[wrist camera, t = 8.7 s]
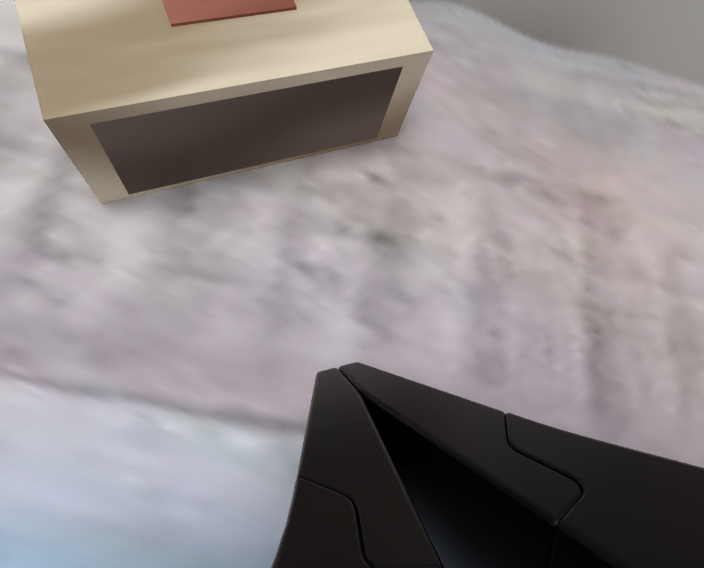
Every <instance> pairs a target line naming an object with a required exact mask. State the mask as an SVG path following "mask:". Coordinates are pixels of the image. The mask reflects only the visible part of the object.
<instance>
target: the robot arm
mask: <svg viewBox="0 0 704 568" xmlns="http://www.w3.org/2000/svg"><path fill="white" fill-rule="evenodd" d="M271 568H704V468H701V467H697V466H694V465H690V464H686V463H682V462H678V461H675V460H671V459H667V458H663V457H660V456H656V455H652V454H648V453H644V452H641V451H637V450H633V449H629V448H625V447H622V446H618V445H614V444H610V443H607V442H603V441H599V440H595V439H592V438H588V437H585V436H581V435H577V434H574V433H570V432H567V431H563V430H560V429H557V428H553V427H550V426H547V425H544V424H541V423H538V422H534V421H531V420H528V419H525V418H522V417H519V416H517V415H514V414H511V413H506V414H505V413H504V412H502V411H500V410H497V409H494V408H491V407H488V406H485V405H482V404H479V403H476V402H473V401H470V400H467V399H464V398H461V397H459V396H456V395H453V394H450V393H447V392H444V391H441V390H438V389H435V388H432V387H429V386H426V385H423V384H420V383H417V382H414V381H412V380H409V379H406V378H403V377H400V376H397V375H394V374H391V373H388V372H385V371H382V370H379V369H376V368H373V367H370V366H368V365H365V364H362V363H358V362H355V363H351V364H347V365H343V366H341V367H339V369H337V368H332V369H328V370H324V371H320V372H318V373H317V375H316V379H315V385H314V390H313V395H312V400H311V406H310V411H309V416H308V421H307V427H306V432H305V437H304V442H303V448H302V453H301V458H300V463H299V469H298V474H297V480H296V482H295V487H294V492H293V497H292V501H291V506H290V510H289V514H288V518H287V522H286V526H285V529H284V532H283V535H282V538H281V541H280V544H279V547H278V550H277V553H276V556H275V559H274V562H273V565H272V567H271Z"/></svg>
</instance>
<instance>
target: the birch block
mask: <svg viewBox="0 0 704 568" xmlns="http://www.w3.org/2000/svg"><path fill="white" fill-rule="evenodd" d="M15 5H16V9H17V13H18V17H19V21H20V25H21V29H22V34H23V38H24V42H25V46H26V50H27V54H28V58H29V63H30V67H31V71H32V75H33V79H34V83H35V88H36V92H37V96H38V100H39V104H40V108H41V112H42V117H43V120H44V122H45V123H46V125H47V126H48V127H49V129H50V130H51V132H52V133H53V135H54V136H55V138H56V139H57V140H58V142H59V143H60V145H61V146H62V148H63V149H64V150H65V152H66V153H67V155H68V156H69V158H70V159H71V161H72V162H73V163H74V165H75V166H76V168H77V169H78V171H79V172H80V174H81V175H82V176H83V178H84V179H85V181H86V182H87V184H88V185H89V186H90V188H91V189H92V191H93V192H94V194H95V195H96V197H97V198H98V199H99V201H100V202H101V204H104V203H108V202H113V201H117V200H121V199H126V198H130V197H134V196H139V195H143V194H147V193H152V192H156V191H160V190H165V189H169V188H173V187H178V186H182V185H187V184H191V183H195V182H200V181H204V180H208V179H213V178H217V177H221V176H226V175H230V174H234V173H239V172H243V171H247V170H252V169H256V168H260V167H265V166H269V165H273V164H278V163H282V162H286V161H291V160H295V159H299V158H304V157H308V156H312V155H317V154H321V153H325V152H330V151H334V150H338V149H343V148H347V147H351V146H356V145H360V144H364V143H369V142H373V141H377V140H382V139H386V138H390V137H395V136H397V134H398V132H399V129H400V127H401V125H402V122H403V120H404V118H405V115H406V113H407V111H408V108H409V106H410V104H411V101H412V99H413V97H414V94H415V92H416V90H417V87H418V85H419V83H420V80H421V78H422V76H423V73H424V71H425V69H426V66H427V64H428V62H429V60H430V57H431V55H432V53H433V49H432V47H431V45H430V43H429V41H428V39H427V37H426V35H425V33H424V31H423V29H422V27H421V25H420V23H419V21H418V19H417V17H416V15H415V13H414V11H413V9H412V7H411V5H410V3H409V1H408V0H15Z"/></svg>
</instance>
